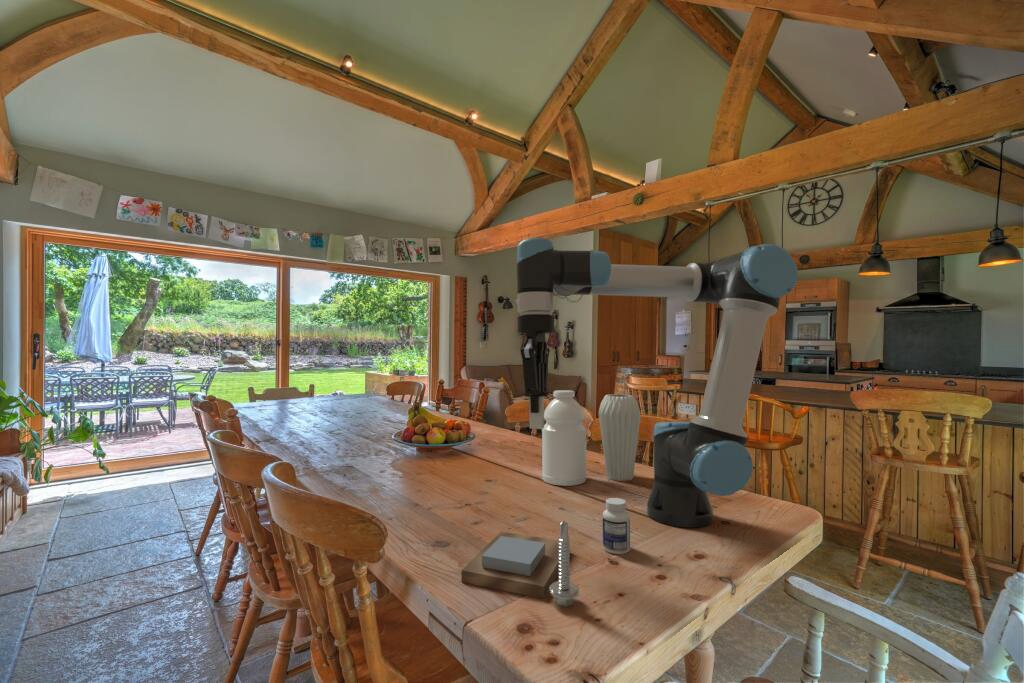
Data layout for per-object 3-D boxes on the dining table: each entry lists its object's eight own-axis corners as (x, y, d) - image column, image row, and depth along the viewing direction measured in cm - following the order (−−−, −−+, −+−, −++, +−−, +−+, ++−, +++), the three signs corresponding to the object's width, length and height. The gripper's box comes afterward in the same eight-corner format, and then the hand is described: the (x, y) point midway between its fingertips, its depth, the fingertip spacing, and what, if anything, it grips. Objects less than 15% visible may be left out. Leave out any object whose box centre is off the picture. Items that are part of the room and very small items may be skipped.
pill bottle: (610, 541, 95) (610, 494, 95) (634, 548, 91) (633, 500, 91) (598, 549, 90) (597, 501, 91) (622, 557, 87) (622, 507, 87)
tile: (545, 543, 84) (530, 564, 75) (545, 554, 84) (530, 577, 75) (501, 535, 87) (481, 555, 78) (501, 547, 87) (481, 568, 78)
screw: (585, 604, 71) (563, 614, 68) (564, 591, 75) (542, 600, 72) (585, 521, 71) (563, 529, 68) (564, 513, 75) (542, 519, 72)
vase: (591, 473, 147) (591, 394, 147) (626, 470, 151) (626, 393, 151) (612, 485, 134) (611, 398, 135) (649, 481, 138) (649, 396, 139)
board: (569, 552, 89) (569, 542, 89) (543, 598, 72) (543, 586, 72) (500, 541, 94) (500, 531, 94) (461, 581, 78) (461, 570, 78)
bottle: (532, 479, 140) (532, 390, 141) (560, 471, 150) (560, 388, 150) (568, 489, 130) (567, 393, 131) (595, 480, 140) (595, 391, 140)
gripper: (528, 317, 100) (529, 422, 99) (507, 312, 88) (508, 432, 87) (560, 316, 97) (562, 424, 97) (543, 311, 85) (545, 434, 84)
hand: (536, 428), depth 92 cm, fingers closed
